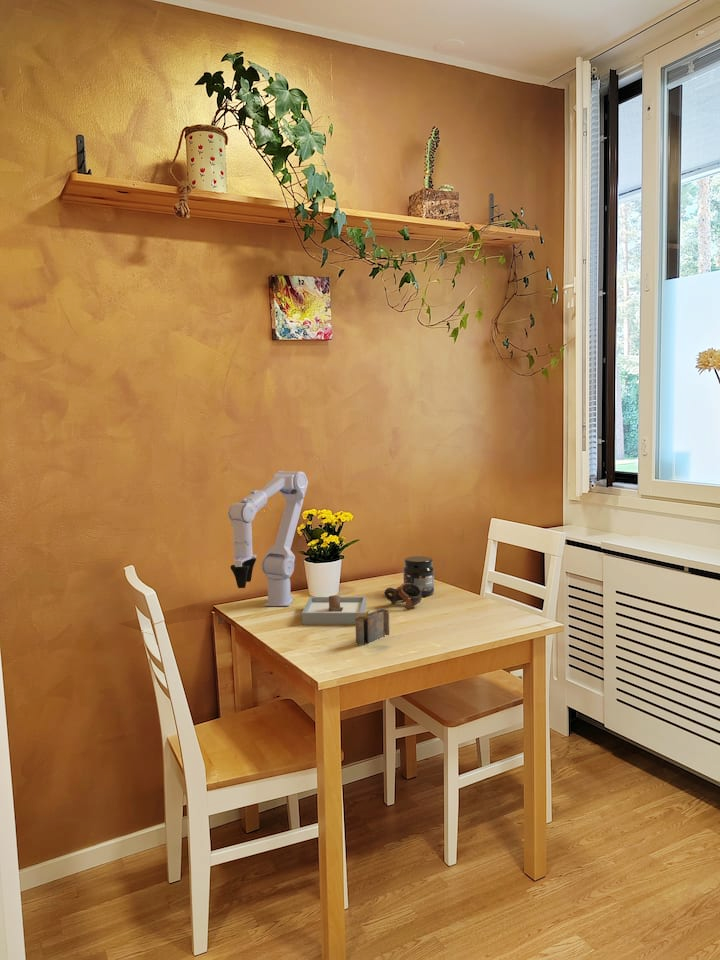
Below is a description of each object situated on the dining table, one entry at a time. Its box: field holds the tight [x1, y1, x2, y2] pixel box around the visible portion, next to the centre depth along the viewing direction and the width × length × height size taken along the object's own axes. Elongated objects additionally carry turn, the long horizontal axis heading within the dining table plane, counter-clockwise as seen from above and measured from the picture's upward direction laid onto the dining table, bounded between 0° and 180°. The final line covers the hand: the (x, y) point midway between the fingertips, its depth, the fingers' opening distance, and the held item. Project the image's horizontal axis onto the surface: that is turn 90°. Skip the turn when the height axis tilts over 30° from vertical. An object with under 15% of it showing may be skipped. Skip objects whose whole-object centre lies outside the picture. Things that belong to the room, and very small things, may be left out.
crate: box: [301, 596, 367, 626], centre depth 226 cm, size 18×18×4 cm
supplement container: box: [402, 555, 435, 597], centre depth 250 cm, size 10×10×12 cm
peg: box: [328, 594, 341, 612], centre depth 226 cm, size 3×3×6 cm
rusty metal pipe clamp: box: [383, 582, 423, 610], centre depth 235 cm, size 12×10×8 cm
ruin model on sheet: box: [355, 608, 390, 646], centre depth 203 cm, size 11×3×10 cm, turn 139°
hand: (244, 584), depth 227 cm, fingers open, 7 cm apart
